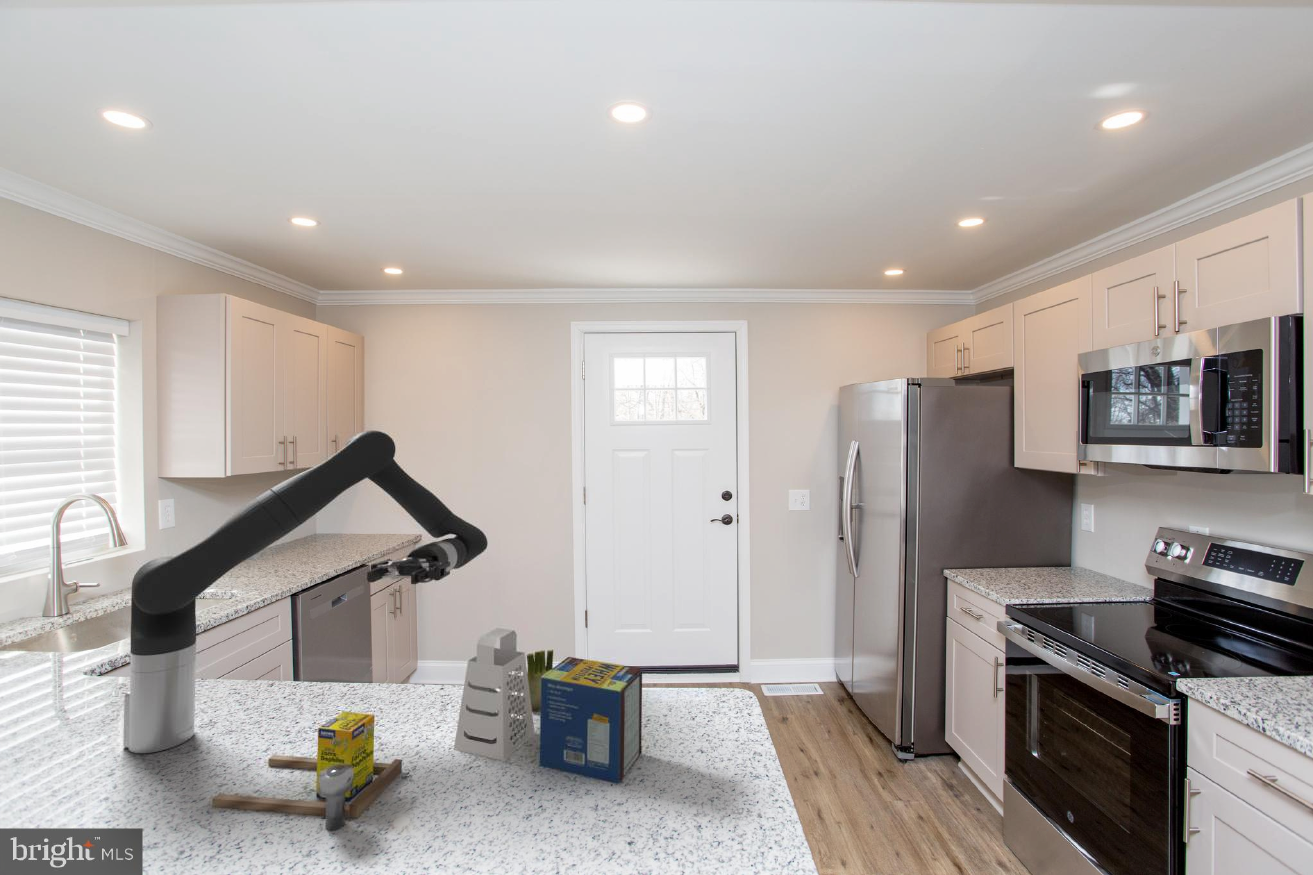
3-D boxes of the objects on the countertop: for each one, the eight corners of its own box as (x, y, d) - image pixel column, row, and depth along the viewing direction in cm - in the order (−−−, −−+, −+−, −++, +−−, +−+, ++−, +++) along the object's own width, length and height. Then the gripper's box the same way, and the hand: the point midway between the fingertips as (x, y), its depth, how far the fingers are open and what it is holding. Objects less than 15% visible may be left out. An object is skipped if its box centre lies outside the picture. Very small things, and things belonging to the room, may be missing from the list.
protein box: (566, 737, 111) (567, 655, 111) (642, 753, 106) (643, 667, 106) (537, 766, 101) (538, 676, 101) (619, 785, 96) (621, 690, 96)
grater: (534, 732, 112) (536, 628, 113) (503, 760, 103) (505, 646, 103) (488, 723, 116) (490, 622, 116) (453, 749, 106) (455, 638, 106)
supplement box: (349, 802, 90) (351, 731, 90) (314, 798, 91) (316, 727, 91) (374, 780, 96) (375, 713, 96) (341, 776, 97) (343, 710, 97)
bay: (212, 806, 89) (212, 793, 89) (273, 761, 101) (273, 750, 101) (357, 818, 86) (357, 804, 86) (401, 771, 99) (401, 759, 99)
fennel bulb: (553, 702, 126) (554, 646, 126) (552, 713, 121) (553, 654, 121) (525, 703, 125) (526, 647, 125) (523, 714, 120) (524, 655, 120)
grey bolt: (310, 834, 83) (311, 777, 83) (330, 814, 87) (331, 760, 87) (339, 836, 82) (340, 779, 82) (358, 816, 87) (359, 762, 87)
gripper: (401, 542, 126) (355, 556, 110) (464, 544, 125) (427, 559, 109) (400, 576, 126) (354, 596, 110) (464, 579, 125) (427, 599, 109)
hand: (391, 578), depth 109 cm, fingers open, 8 cm apart
